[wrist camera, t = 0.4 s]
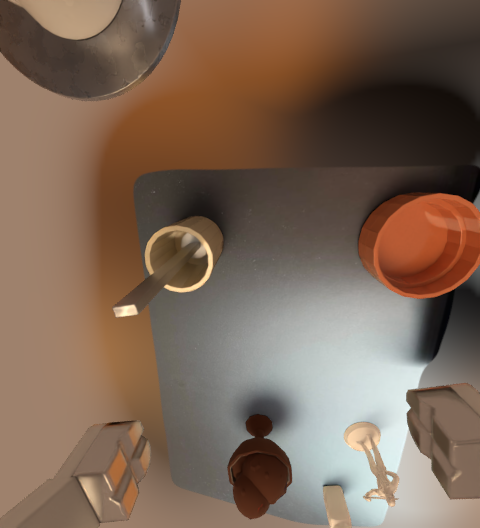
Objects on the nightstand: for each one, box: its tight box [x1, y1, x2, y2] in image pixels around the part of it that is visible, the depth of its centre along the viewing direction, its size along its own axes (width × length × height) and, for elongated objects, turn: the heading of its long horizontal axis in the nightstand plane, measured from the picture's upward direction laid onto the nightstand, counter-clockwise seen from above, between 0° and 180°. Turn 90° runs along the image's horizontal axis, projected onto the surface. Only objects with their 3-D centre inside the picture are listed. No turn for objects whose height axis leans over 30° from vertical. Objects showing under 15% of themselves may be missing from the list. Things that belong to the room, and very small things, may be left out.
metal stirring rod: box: [113, 232, 207, 317], centre depth 30 cm, size 4×4×24 cm
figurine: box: [344, 422, 399, 507], centre depth 45 cm, size 7×7×12 cm
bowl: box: [358, 192, 480, 299], centre depth 37 cm, size 14×14×6 cm
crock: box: [145, 216, 224, 292], centre depth 36 cm, size 8×8×11 cm
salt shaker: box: [323, 486, 351, 528], centre depth 51 cm, size 4×4×10 cm
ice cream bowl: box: [227, 414, 292, 519], centre depth 45 cm, size 11×11×15 cm
